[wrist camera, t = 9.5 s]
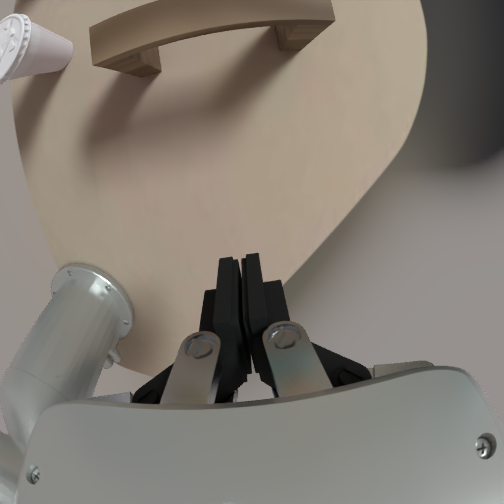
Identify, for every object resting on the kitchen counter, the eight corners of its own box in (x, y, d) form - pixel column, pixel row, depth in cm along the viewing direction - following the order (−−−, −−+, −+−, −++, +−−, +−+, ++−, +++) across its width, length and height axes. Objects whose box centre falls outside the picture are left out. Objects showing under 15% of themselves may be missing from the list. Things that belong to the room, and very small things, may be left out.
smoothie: (32, 57, 15) (-60, 59, 3) (74, 17, 14) (-16, -8, 2) (48, 95, 18) (-53, 112, 6) (92, 55, 17) (-10, 39, 5)
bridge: (301, 49, 19) (335, 20, 11) (140, 77, 19) (92, 65, 11) (296, 21, 17) (326, -18, 9) (136, 49, 18) (89, 27, 10)
